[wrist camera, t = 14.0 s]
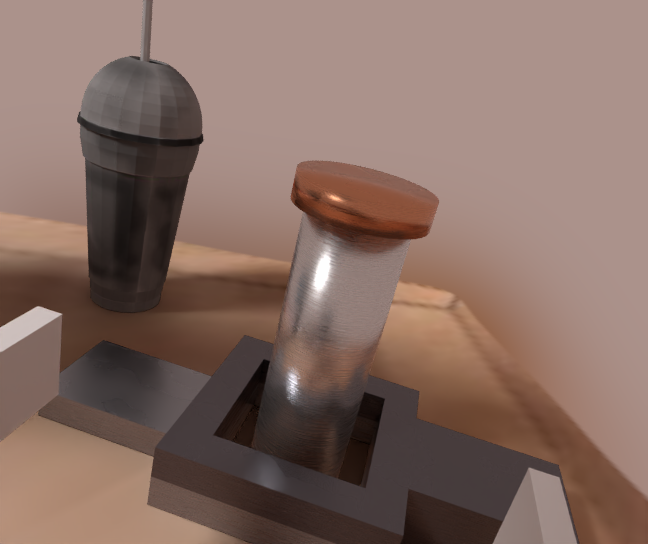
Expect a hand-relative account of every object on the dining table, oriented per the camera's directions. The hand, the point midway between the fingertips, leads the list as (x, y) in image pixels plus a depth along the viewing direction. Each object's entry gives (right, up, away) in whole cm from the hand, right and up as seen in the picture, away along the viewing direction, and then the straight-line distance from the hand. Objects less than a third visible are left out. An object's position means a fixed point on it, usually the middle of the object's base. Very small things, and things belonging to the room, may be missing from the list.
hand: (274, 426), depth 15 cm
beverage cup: (-12, +2, +23) cm, 26 cm away
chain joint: (0, -5, +12) cm, 13 cm away
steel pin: (0, -5, +12) cm, 13 cm away
